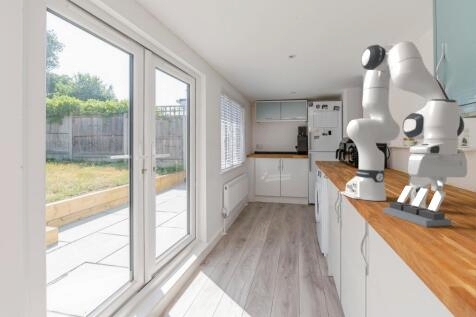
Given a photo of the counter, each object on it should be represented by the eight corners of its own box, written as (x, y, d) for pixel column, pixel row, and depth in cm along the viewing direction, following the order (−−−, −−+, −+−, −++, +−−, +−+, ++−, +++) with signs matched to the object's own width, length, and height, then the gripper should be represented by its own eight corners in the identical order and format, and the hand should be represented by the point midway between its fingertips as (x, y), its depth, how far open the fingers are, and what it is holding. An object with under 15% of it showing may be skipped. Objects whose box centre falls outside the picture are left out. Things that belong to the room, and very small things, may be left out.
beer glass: (403, 207, 104) (405, 171, 104) (413, 206, 107) (415, 171, 106) (421, 211, 98) (423, 173, 97) (431, 210, 101) (434, 173, 100)
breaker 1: (397, 201, 94) (406, 185, 95) (398, 202, 94) (407, 186, 95) (402, 202, 92) (411, 186, 92) (404, 203, 92) (413, 187, 93)
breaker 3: (427, 209, 82) (436, 190, 83) (429, 210, 83) (438, 191, 83) (434, 210, 80) (443, 191, 81) (437, 212, 80) (446, 192, 81)
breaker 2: (411, 204, 88) (420, 188, 89) (413, 206, 89) (422, 189, 89) (417, 206, 86) (427, 189, 87) (419, 207, 86) (429, 190, 87)
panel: (383, 212, 95) (383, 202, 94) (404, 211, 97) (405, 201, 97) (426, 226, 78) (426, 214, 78) (451, 225, 80) (451, 213, 80)
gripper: (454, 149, 86) (451, 188, 87) (405, 147, 82) (402, 189, 83) (475, 149, 80) (472, 192, 81) (423, 147, 76) (420, 193, 76)
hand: (436, 190), depth 82 cm, fingers closed
